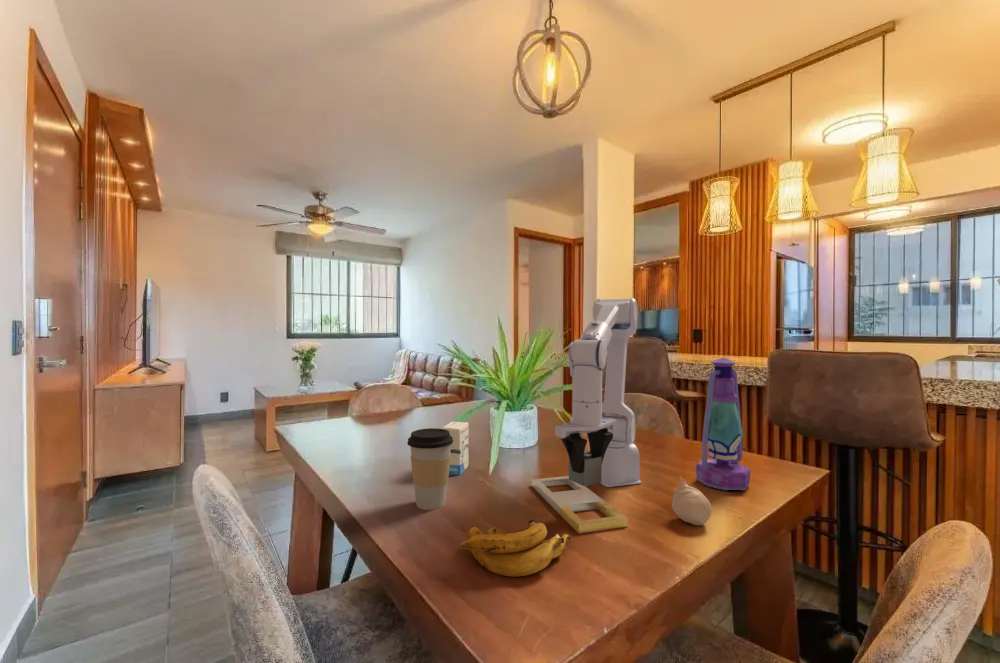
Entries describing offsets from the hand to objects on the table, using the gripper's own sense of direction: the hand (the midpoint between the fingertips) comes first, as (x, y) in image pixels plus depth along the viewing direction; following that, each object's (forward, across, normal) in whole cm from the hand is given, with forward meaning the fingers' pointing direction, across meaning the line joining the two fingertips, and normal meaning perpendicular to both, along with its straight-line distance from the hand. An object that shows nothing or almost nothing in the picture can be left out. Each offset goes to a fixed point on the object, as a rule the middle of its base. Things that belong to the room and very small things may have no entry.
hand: (586, 469), depth 84 cm
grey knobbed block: (+2, 0, 0) cm, 2 cm away
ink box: (+9, +10, -38) cm, 40 cm away
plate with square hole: (+9, -2, -5) cm, 11 cm away
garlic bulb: (+9, -15, +13) cm, 22 cm away
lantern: (+9, -39, +4) cm, 41 cm away
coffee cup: (+9, +24, -21) cm, 33 cm away
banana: (+10, +20, +4) cm, 23 cm away
